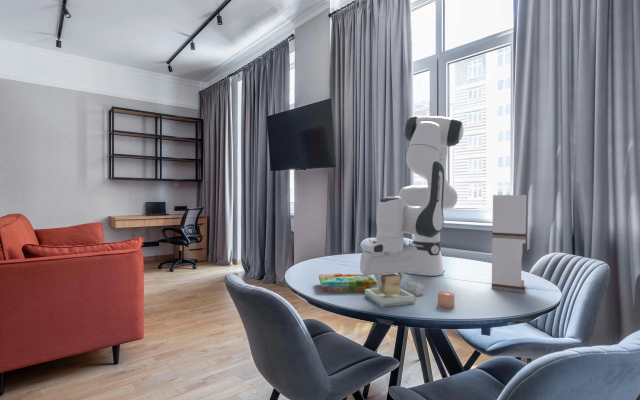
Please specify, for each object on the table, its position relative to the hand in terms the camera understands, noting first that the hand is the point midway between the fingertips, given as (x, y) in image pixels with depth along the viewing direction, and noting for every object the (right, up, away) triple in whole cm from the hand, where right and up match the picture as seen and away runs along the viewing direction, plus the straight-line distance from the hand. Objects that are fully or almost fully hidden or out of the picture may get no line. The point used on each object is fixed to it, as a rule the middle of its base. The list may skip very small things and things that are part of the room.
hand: (389, 286), depth 116 cm
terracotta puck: (+17, -5, -6) cm, 18 cm away
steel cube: (+10, -5, +7) cm, 13 cm away
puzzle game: (-13, -5, +15) cm, 20 cm away
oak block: (0, -2, 0) cm, 2 cm away
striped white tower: (+48, -5, +16) cm, 51 cm away
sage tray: (0, -5, 0) cm, 5 cm away
